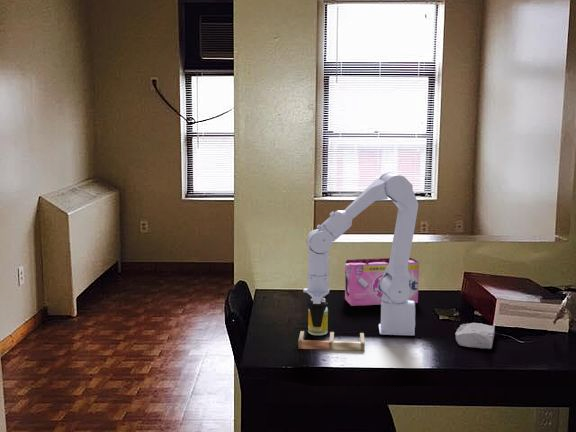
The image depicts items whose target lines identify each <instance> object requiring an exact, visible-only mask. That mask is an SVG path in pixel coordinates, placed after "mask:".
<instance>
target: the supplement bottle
mask: <svg viewBox="0 0 576 432" xmlns="http://www.w3.org/2000/svg"><path fill="white" fill-rule="evenodd" d="M310 301H313V298H310ZM321 302H325V298H323V297H322V298H321ZM307 311H308V315H307V325H308V326H307V328H308V329H307V331H308V334H310V335H312V336H324V335H327V334H328V332H329V331H328V329H329V327H328V323H329V322H328V321H329V319H328V318H329V317H328V316H329V309H328V306H327V307H326V309H325V311H324V314H323V320H322V325H321V327H313V324H312V318H311V313H310V310H309V308H308V310H307Z"/></svg>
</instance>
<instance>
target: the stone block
mask: <svg viewBox="0 0 576 432" xmlns="http://www.w3.org/2000/svg"><path fill="white" fill-rule="evenodd" d="M495 326H496V325H489V324H486V323H485V324H484V323H481V322H480V323H478V322H471V323H462V324H460V325H459V327H458V328H457V329H456V332H455V333H454V334H455V341H456V342H457V344H458V345H459V346H460V347H461V346H462V347H468V348H477V349H486V350H487V349H488V350H491V349H492V348H493V344H494V338H495V333H496V331H495V330H496V329H495V328H496V327H495Z"/></svg>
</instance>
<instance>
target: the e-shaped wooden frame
mask: <svg viewBox="0 0 576 432" xmlns="http://www.w3.org/2000/svg"><path fill="white" fill-rule="evenodd" d="M299 332H300V333H299V337H298V341H297V347H298V349H299V350H300V349H303V350H324V351H325V350H330V351H332V350H333V351H353V352H356V351H357V352H359V351H360V352H365V346H366V345H365V344H366V343H365V333H364V332H360V333H359V341H345V340H344V341H343V340H342V341H341V340H335V332H334V331H329V340H313V339H312V340H311V339H305V330H300V331H299Z"/></svg>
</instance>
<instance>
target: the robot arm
mask: <svg viewBox="0 0 576 432" xmlns="http://www.w3.org/2000/svg"><path fill="white" fill-rule="evenodd" d="M388 199H390V200H391V201H392V202H393V204H394V205H395V206H396V207H397V214H396V220H395V227H394V233H393V238H392V239H393V240H392V244H391V250H390V255H389V258H390V260H389V264H388V266H387V267H386V269H385V273H384V275H383V277H382V278H381V280H380V289H381V290H382V291H383V295H382V297H381V305H380V323H379V324H378V330H379V332H378V333H379V334H380V335H383V336H384V335H389V336H392V335H393V336H416V335H415V334H416V333H415V330H416V329H415V328H416V303H415V302H414V301H411V300H408V297H409V296H410V286H409V273H408V262H409V258H411V250H412V245H413V239H414V235H415V228H416V221H417V217H418V216H417V215H418V210H419V201H418V200H417V197H416V194H415V192H414V189H413V184H412V183H411V182H410V181H409V179H407V178H406V176H403V175H401V174H397V173H393V172H384V173H383V174H381V175H380V177H379V178H377V179H375V180H373V182H372V183H371V184H370V185H368V187H367V188H366V189H364V191H362V192H361V193H360V194H359V195H358V197H356V198H355V199H354V200H353V201H352V202H351V203H350V204H349V205H348V206H347V207H345V209H344V210H340V209H339V210H338V209H337V210H335V211H331V212H330V213H329V217H328V218H326V220H324V221H323V222H322V223H321V224H317V226H316V229H312V230H311V231H309V233H308V234H307V238H306V239H305V240H306V241H305V242H306V244H307V245H306V246H308V253H307V254H308V255H307V288H306V287H305V288H303V291H302V292H303V293H307V294H308V295H309V298H310V299H311V298H313V301H311V300H306V306H307V308H308V309H309V310H310V313H311V318H312V324H313V327H321V325H322V320H323V314H324V311H325V309H326V307H327V308H328V305H329V302H327V299H328V298H329V295H330V287H329V286H330V283H329V281H330V277H329V276H330V273H329V272H330V257H329V256H330V255H329V254H330V253H329V252H330V250H331V248H332V245H333V243H334V242H335V241H336V240H338V239H339V238H340V237H341V236H342V235H343V234H344V233H345V232H347V231H348V230H349V229H350V228H351V227H352V225H353V224H352V222H353V219H355V218H356V217H357V216H358V215H359V214H361V213H362V212H363V211H365V210H366V209H367V208H368V207H369V206H371V205H372V204H373V203H374V202H376V201H384V200H385V201H386V200H388ZM322 297H323V298H325V302H321V298H322Z"/></svg>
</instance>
